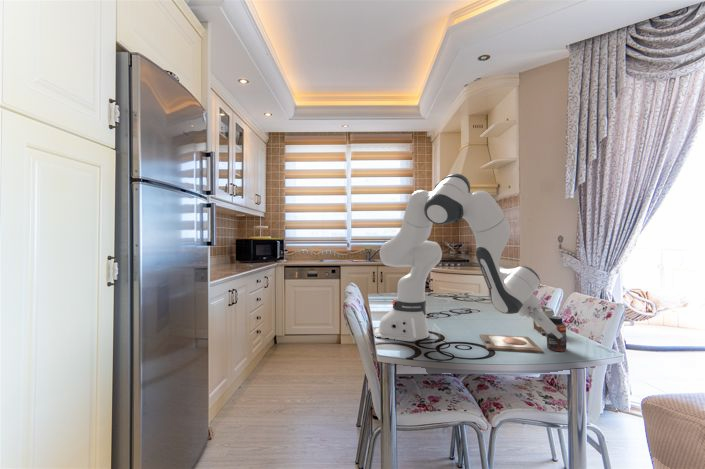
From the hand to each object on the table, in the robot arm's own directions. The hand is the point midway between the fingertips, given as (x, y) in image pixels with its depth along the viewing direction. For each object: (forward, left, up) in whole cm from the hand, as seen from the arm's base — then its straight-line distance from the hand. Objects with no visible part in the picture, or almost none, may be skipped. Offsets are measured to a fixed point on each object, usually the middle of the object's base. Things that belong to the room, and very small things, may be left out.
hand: (558, 334), depth 114 cm
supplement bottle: (-1, 0, -6) cm, 6 cm away
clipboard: (-16, +3, -5) cm, 17 cm away
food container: (+3, +22, -6) cm, 23 cm away
